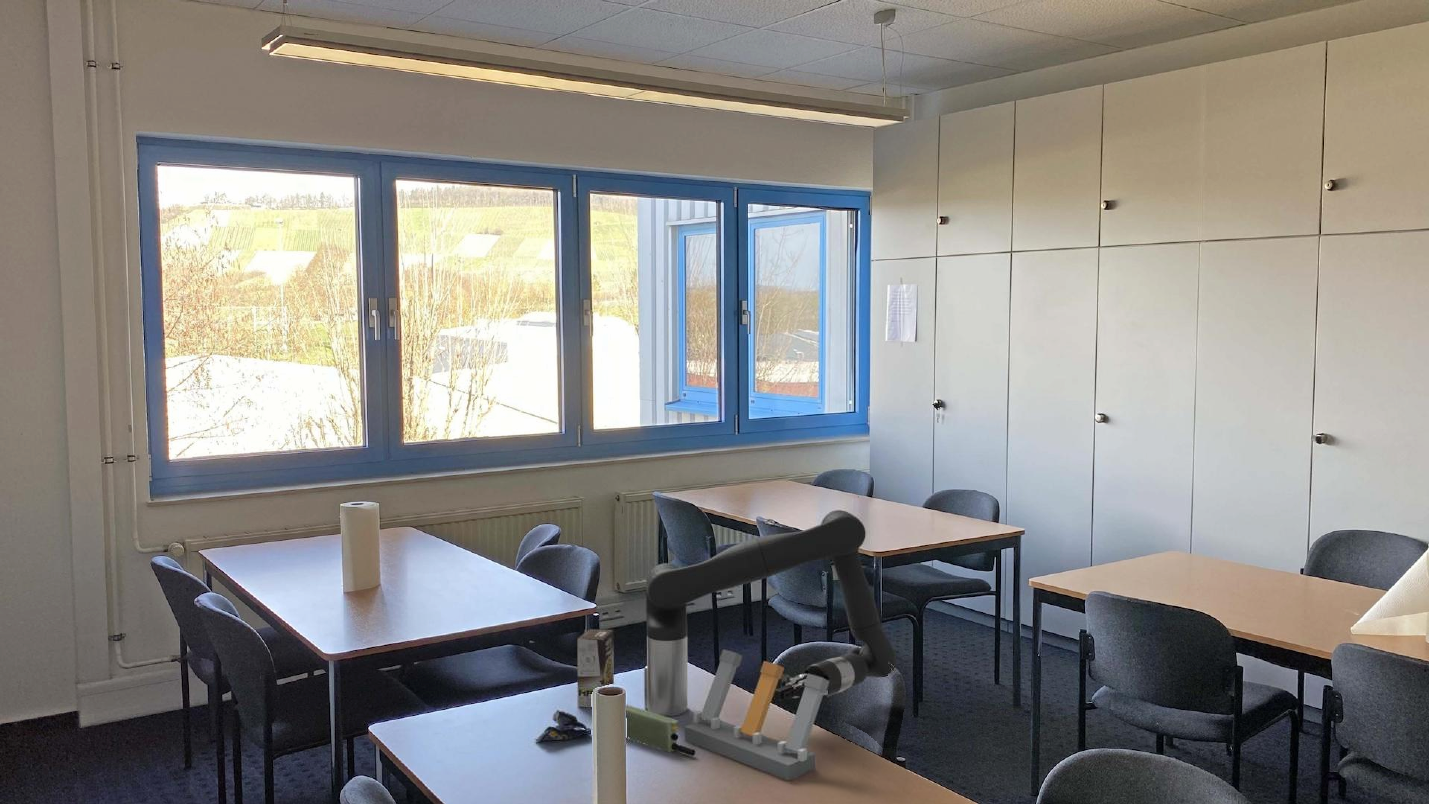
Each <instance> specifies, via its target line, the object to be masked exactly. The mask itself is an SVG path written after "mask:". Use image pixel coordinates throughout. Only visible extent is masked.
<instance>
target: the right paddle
mask: <svg viewBox="0 0 1429 804" xmlns="http://www.w3.org/2000/svg"><path fill="white" fill-rule="evenodd" d="M828 684H829V681H828V680H826V679H824V678H822V677H818V676H815V675H811V674H808V675H807V678H806V681H805V684H804V685H805V689H804V692H803V695H802V698H801V699H800V701H799V705H798V707H797V710H796V713H795V716H794V719H793V721H792V724H791V728H790V731H789V733H788V737H787V740H786V741H785V742H786V745H785V748H787V749H789V750H792V751H795V752H797V753H798V750H799V749H802V748H805V749H807V748H806V747H807V744H808V741H809V738H810V735H811V732H812V730H813V726H814V724H815V720H816V718H817V715H818V712H819V708H820V706H821V702H822V700H823V699H822V697H823V694H824V693H826V690H827V687H828Z"/></svg>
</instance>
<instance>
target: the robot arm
mask: <svg viewBox="0 0 1429 804" xmlns="http://www.w3.org/2000/svg"><path fill="white" fill-rule="evenodd" d="M866 533H867V532H866V527H865V526H864V524H863V522H862V521H861V520H860V519H859V518H858V517H857V516H855V515H853V514H852V513H850V512H848V511H845V510H840V509H835V510H833V511H830V512H829V513H827V514H826V515H825V516H824V517H823V518H822V520H821V523H820V524H819V525H815V526H812V527H809V528H807V529H805V530H801V531H796V532H794V531H793V532H785V533H777V534H775V533H774V534H767V535H764V536H759V537H755V538H753V539H749V540H745V541H742V542H740V543H737V544H734V545H733V546H730V547H728V548H727V549H725V550H722V551H721V552H719V553H718V554H716V555H714V556H713V557H711V558H709V559H706V560H705V561H703V562H702V561H701V562H699V563H696V564H691V565H687V566H684V567H678V565H676V564H673V563H669V562H668V563H667V562H664V563H660V564H658V565H656V566H654V567H652V569H651V570H650V571H649V572H648V574H647V577H646V583H645V584H646V585H645V608H646V609H645V610H646V611H645V612H646V613H645V615H646V617H645V619H646V621H645V622H646V652H647V653H646V666H644V669H643V670H644V673H643V675H644V677H643V679H644V681H643V682H644V690H643V691H644V695H643V696H644V708H645V709H647V710H646V711H648V712H651V713H655V714H658V715H661V716H664V717H673V716H678V715H682V714H684V713H686V712H687V711H688V709H689V708H688V617H687V615H688V614H687V604H689V603H691V602H693V601H695V600H697V599H700V598H703V597H705V596H707V595H709V594H713V593H717V592H720V591H724V590H728V589H732V588H736V587H739V586H743V585H746V584H750V583H753V582H757V581H760V580H764V579H767V578H769V577H774V576H775V575H778V574H781V573H784V572H787V571H790V570H792V569H795V568H797V567H800V566H802V565H805V564H807V563H812V562H814V561H819V560H823V559H829V558H831V561H832V564H833V566H834V567H833V568H834V570H835V572H836V575H837V579H838V583H839V587H840V591H841V596H842V600H843V603H844V608H845V613H846V616H847V620H848V625H849V627H850V628H849V629H850V632H851V634H852V637H853V638H854V639H856V640H858V641H861V642H863V643H865V644H866V645H861V646H857V647H855V648H853V649H851V650H850V651H849V652H848V653H846V654H844V655H840V656H837V657H832V658H828V659H825V660H821V661H818V662H816V663H812V664H811V665H809V666H808V667H807V668H806V669H805V671H804V672H803V673H801V674H797V675H795V676H794V677H790V676H789V673H783V674H782V677H781V684H780V685H781V687H779V688H776V689H775V692H774V699H775V700H777V701H781V702H782V701H784V700H788V699H790V698H791V699H797V698H799V699H800V700H801V698H802V695H803V692H804V689H805V685H804V684H805V681H806V678H807V675H808V674H811V675H815V676H818V677H822V678H824V679H826V680H828V681H829V684H828V687H827V690H826V693H824V694H823V697H822V700H823V699H828V697H831V696H833V695H837V694H839V693H841V692H844V691H845V690H848V689H849V688H851V687H854V686H857V685H859V684H861V683H863V681H865V680H866V679H867V677H868V678H880V679H881V678H882V677H886V676H888V674H889V673H891V671H892V670H894V668H896V669H897V666H898V661H897V659H898V658H897V654H896V652H895V649H894V647H893V645H892V644H891V641H890V640H889V637H888V635H887V634H886V632H885V631H884V630H885V629H883V627H882V625H881V621H880V616H879V613H878V608H877V604H876V602H875V601H876V600H875V598H874V596H873V593H872V590H871V588H870V584H869V583H868V579H867V577H866V574H865V572H864V568H863V566H862V562H861V557H860V553H859V552H860V551H859V549H860V548H861V547H862V545H863V543H864V541H865V539H866ZM859 647H861V648H859ZM888 662H889V663H890V664H889V663H888ZM891 664H892V665H893V666H894V667H893V666H892V665H891ZM891 668H892V670H891ZM886 678H887V677H886Z"/></svg>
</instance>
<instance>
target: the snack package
mask: <svg viewBox="0 0 1429 804" xmlns="http://www.w3.org/2000/svg"><path fill="white" fill-rule="evenodd" d="M552 721H553V722H555V723H556V724H557V725H555V726H548V727H546V729H545V730H543V731H544V732H542V733H541V734H540V735H539V736H538V738H534V739H535V741H536V743H537V744H538V743H540V742H541V741H540V740H543V741H555V740H556V741H561V740H562V741H563V740H571V739H574V738H577V737H579V736H583V735H590V736H592V735H591V729H592V728H589V727H588V728H587V726H586V725H585V724H584V723H583V722H579V721H578V718H577V716H575V715H573V714H571V713H570V712H565V711H562V710H561V711H560V710H558V709H557V710H556V711H555V713H553V715H552ZM581 728H584V729H585V730H583V729H581ZM539 741H540V742H539Z"/></svg>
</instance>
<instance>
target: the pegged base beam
mask: <svg viewBox="0 0 1429 804" xmlns="http://www.w3.org/2000/svg"><path fill="white" fill-rule="evenodd" d="M701 713H702V710H701V711H700V710H698V711H696V712H693V723H691V724H689V725H686V726H684V741H685V742H687V743H690V744H693V745H695V746H698V747H701V748H703V749H706V750H708V751H711V752H713V753H716V754H719V755H721V756H724V757H727V758H729V759H732V760H733V761H734V760H735V761H737V762H738V763H741V764H744V765H747V766H749V767H753V768H755V769H757V770H759V771H762V772H765V773H767V774H771V775H772V776H776V777H777V778H781V779H783V780H785V781H788V782H789V781H791V780H793V779H796V778H798V777H800V776H803V775H805V774H807V773H809V772H811V771H814V770H816V753H813V752H811V751H808V749H807V748H802V749H799V750H798V753H797V752H795V751H792V750H789V749H787V748H785V745H786V742H787V741H785V740H782V741H780V740H777V739H773V737H768V736H766V735H763V734H762V732H756V733H754V734H753V736H750V735H747V734H745V733H743V732H741V730H742V727H743V725H734V724H732V723H730V722H726V721H724V720H720V717H719V718H717V717H715V718H712V719H711V721H709V720H706V719H703V718H701V717H700V716H701Z"/></svg>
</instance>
